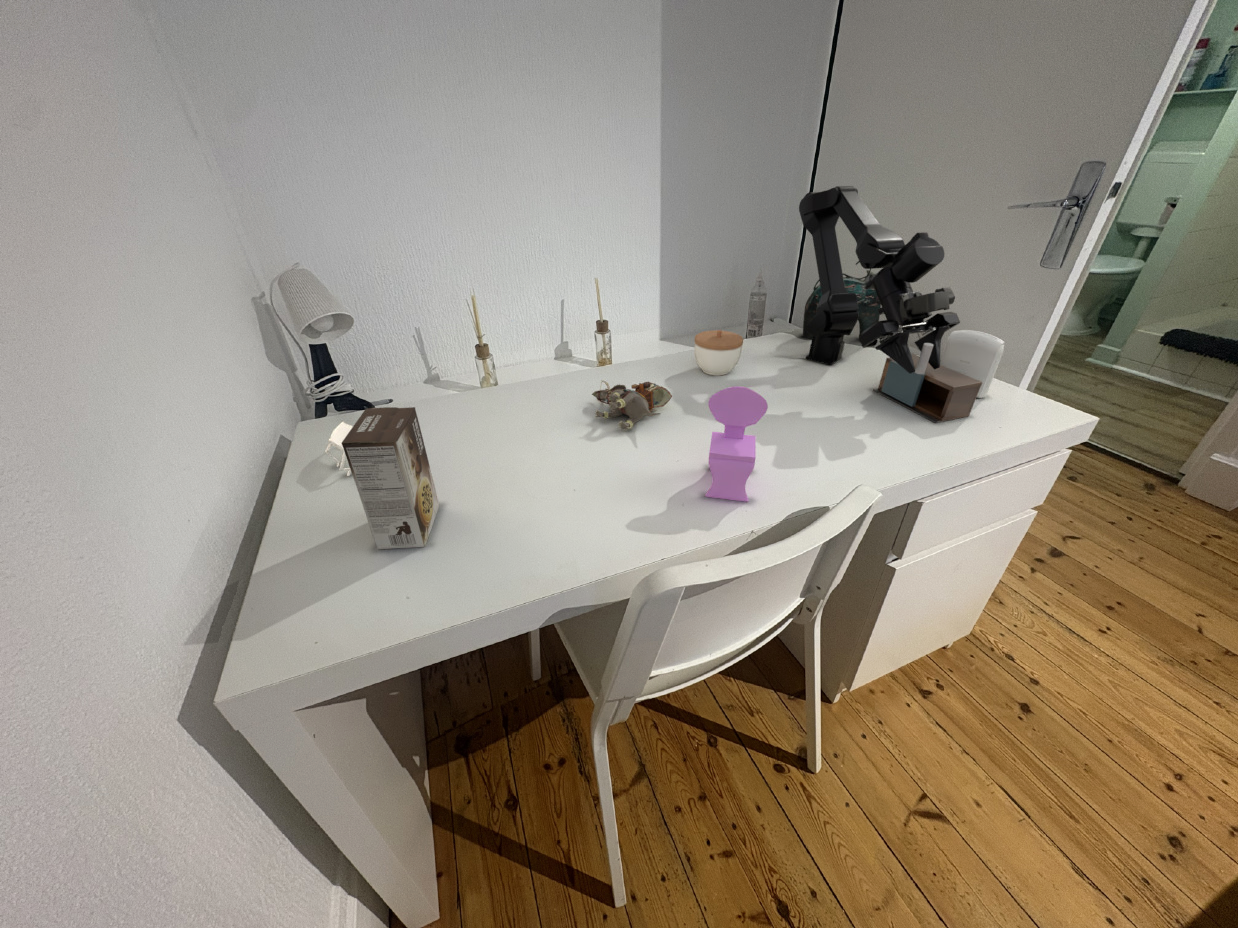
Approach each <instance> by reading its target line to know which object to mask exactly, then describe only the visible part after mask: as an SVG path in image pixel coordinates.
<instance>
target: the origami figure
mask: <svg viewBox="0 0 1238 928" xmlns="http://www.w3.org/2000/svg"><path fill="white" fill-rule="evenodd" d="M353 426H354V425H351V424H348V423H346V422H345V421H342V422H341V423H339V424H338V425H337V426H336V427H335V428H334V429H333V430H332V432H331V435H330V438H329V439H328V442H327V443H328V445H327V447H326V448H325V451H324V453H325V454H327V455H328V456H329V457H330V458H332V459H334V460H336V467H337V468H338V470H339V471H347V474H346V476H347V477H349V476H351V473H352V472H351V469H350V467H345V463H346V455H345V451H344V448H343V446H342V444H341V443H342V442H343V440H344V439H345V437H346V436H347V434H348V433H349V432H350V430H351V429H352V427H353ZM332 446H333V447H335V448H336V449H338V450H340V451H342V455H341V456H342V457H341V462H340V459H338V458H337V457H335V456H334V455H333V454H331V453H330V452H329V451H330V449H331V447H332Z"/></svg>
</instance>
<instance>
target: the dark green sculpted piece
mask: <svg viewBox="0 0 1238 928" xmlns="http://www.w3.org/2000/svg"><path fill="white" fill-rule="evenodd" d="M858 264H860V262H859V260H858V261H857V262H856V263H855V266H857V265H858ZM842 273H843V272H842ZM877 273H878V272H873V271H872V269H866V276H863V277H855V276H852V275H849V274H846V273H843V279H844V285H845V289H846V290H847V291H848V292H849V293H856V295H857V304H858V307H859V309H860V310H858V314H859V317H858V321H857V322H858V326H859V333H858V340H859V341H860V337H861V333H862V332H863V331H865V330H866V329H868V328H869V327H870V326H872V325H873V324H874V323H876V322H877V321H880V316H881V315H879V312H878V310H879V309H880V308H881V307H882V306H881V303H880V301H879V298H878V295H877V293H876V290H875V288H873V289H865V286H866V283H867V282H868V280H869V276H870V275H873V274H877ZM818 283H819V284H818ZM821 296H822V293H821V287H820V281H819V279H818V280H817V281H816V282H815V284H814V286H813V291H812V292H811V294H810V295H809V297H808V298H807V300H806V302H805V304H804V312H803V322H802V324H803V325H802V338H804V339H812V336H813V335H812V334H810V333H808V322H809V321H810V320H812V319H813V318H814V317H815V316H816V315H817V306H818V303H819V301H820V299H821Z"/></svg>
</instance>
